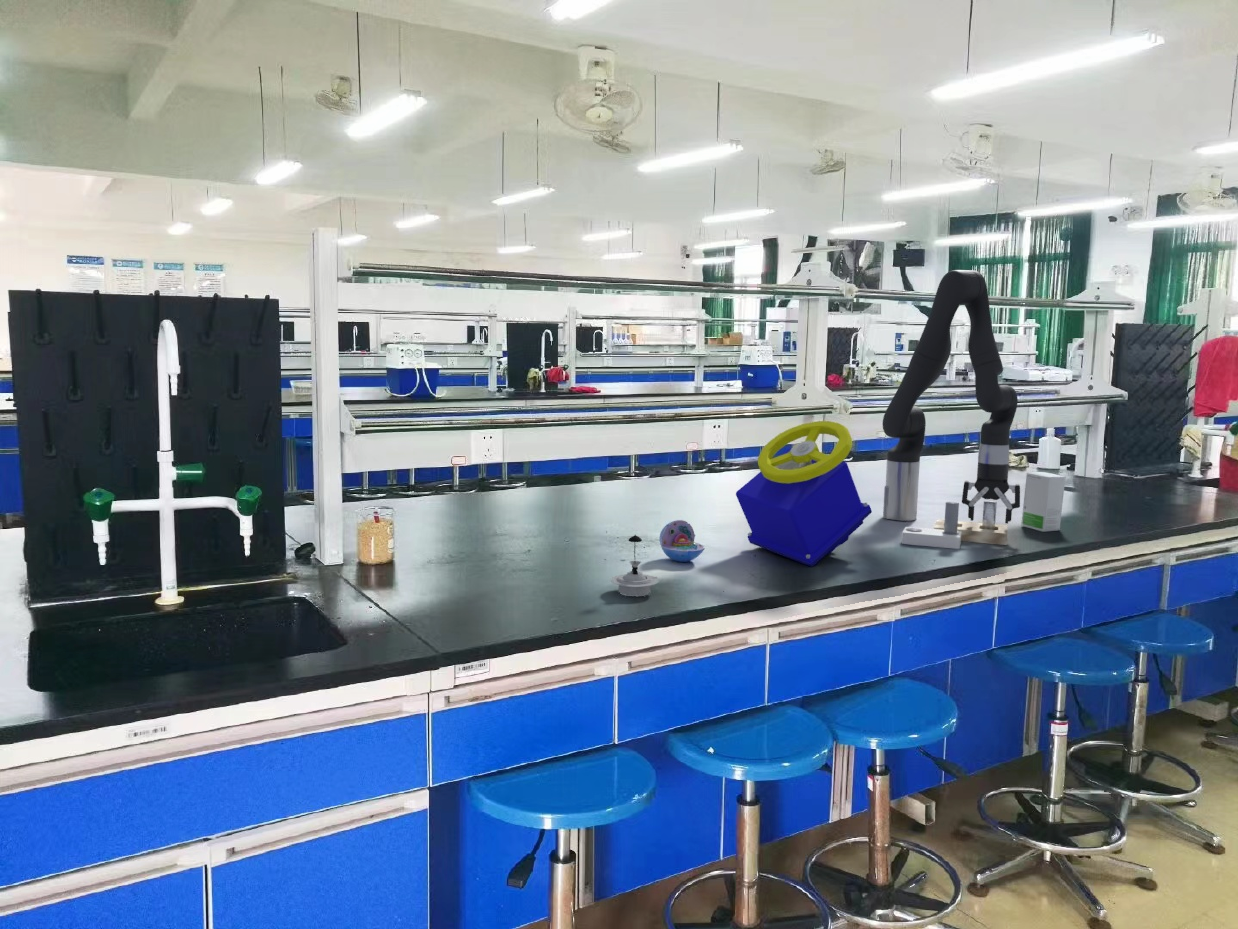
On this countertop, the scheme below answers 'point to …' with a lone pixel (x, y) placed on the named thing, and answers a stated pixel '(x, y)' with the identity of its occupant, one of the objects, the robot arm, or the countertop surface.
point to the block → (937, 531)
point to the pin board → (978, 532)
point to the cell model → (679, 541)
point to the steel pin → (989, 515)
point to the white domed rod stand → (634, 578)
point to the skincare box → (1043, 501)
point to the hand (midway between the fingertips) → (989, 521)
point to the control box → (803, 495)
